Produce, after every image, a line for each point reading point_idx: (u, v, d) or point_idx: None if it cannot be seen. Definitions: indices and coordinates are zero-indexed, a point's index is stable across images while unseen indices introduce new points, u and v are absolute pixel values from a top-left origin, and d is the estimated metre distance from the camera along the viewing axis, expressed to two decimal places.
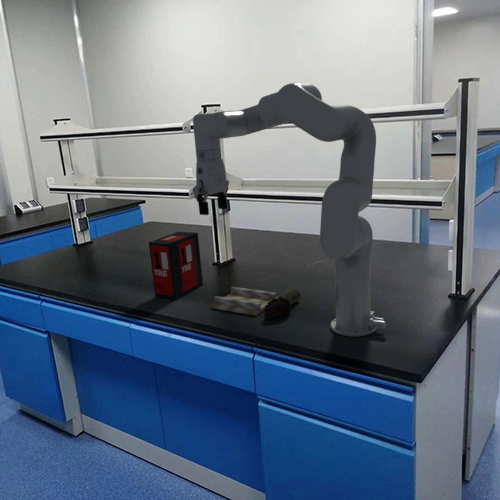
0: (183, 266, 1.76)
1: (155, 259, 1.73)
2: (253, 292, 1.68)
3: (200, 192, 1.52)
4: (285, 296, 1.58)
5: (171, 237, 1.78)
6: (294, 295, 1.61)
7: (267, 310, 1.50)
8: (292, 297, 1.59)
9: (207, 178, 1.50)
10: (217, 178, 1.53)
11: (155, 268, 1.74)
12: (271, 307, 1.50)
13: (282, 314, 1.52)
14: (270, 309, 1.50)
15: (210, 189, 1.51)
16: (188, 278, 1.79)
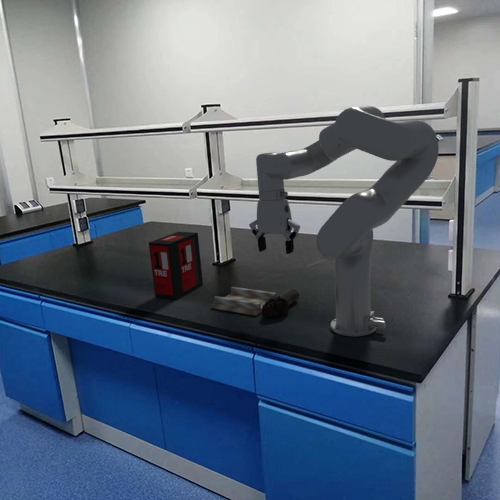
0: (183, 266, 1.76)
1: (155, 259, 1.73)
2: (253, 292, 1.68)
3: (286, 231, 1.48)
4: (283, 296, 1.58)
5: (171, 237, 1.78)
6: (292, 295, 1.61)
7: (264, 310, 1.51)
8: (290, 297, 1.60)
9: (290, 215, 1.50)
10: None
11: (155, 268, 1.74)
12: (268, 307, 1.50)
13: (279, 314, 1.53)
14: (267, 309, 1.50)
15: None
16: (188, 278, 1.79)
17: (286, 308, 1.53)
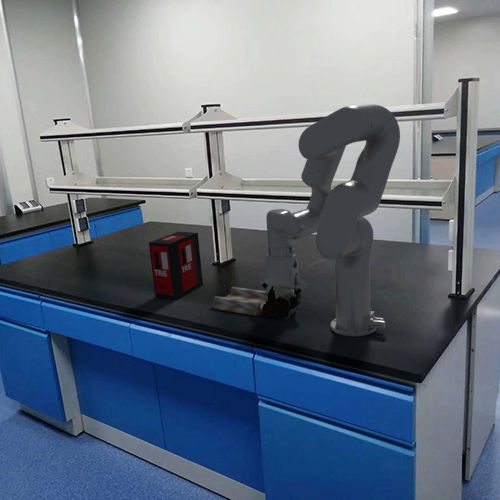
0: (183, 266, 1.76)
1: (155, 259, 1.73)
2: (253, 292, 1.68)
3: None
4: (284, 296, 1.58)
5: (171, 237, 1.78)
6: None
7: (264, 309, 1.51)
8: None
9: (298, 269, 1.54)
10: None
11: (155, 268, 1.74)
12: (268, 306, 1.51)
13: (280, 314, 1.53)
14: (267, 308, 1.50)
15: None
16: (188, 278, 1.79)
17: (286, 308, 1.53)
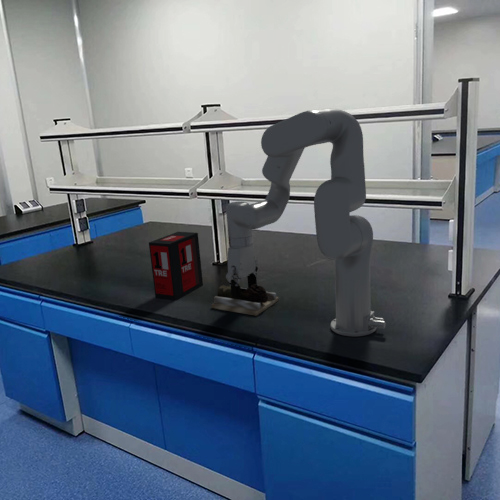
0: (183, 266, 1.76)
1: (155, 259, 1.73)
2: None
3: None
4: None
5: (171, 237, 1.78)
6: None
7: (265, 295, 1.58)
8: None
9: None
10: None
11: (155, 268, 1.74)
12: None
13: None
14: (266, 293, 1.59)
15: None
16: (188, 278, 1.79)
17: None
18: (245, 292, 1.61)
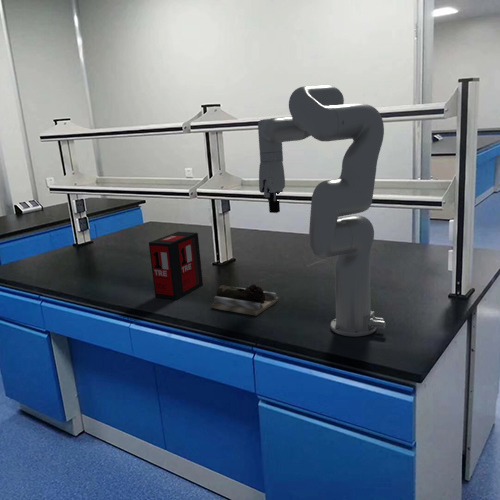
0: (183, 266, 1.76)
1: (155, 259, 1.73)
2: None
3: None
4: (238, 288, 1.64)
5: (171, 237, 1.78)
6: None
7: (262, 296, 1.58)
8: None
9: None
10: None
11: (155, 268, 1.74)
12: None
13: None
14: None
15: None
16: (188, 278, 1.79)
17: None
18: (243, 292, 1.61)
